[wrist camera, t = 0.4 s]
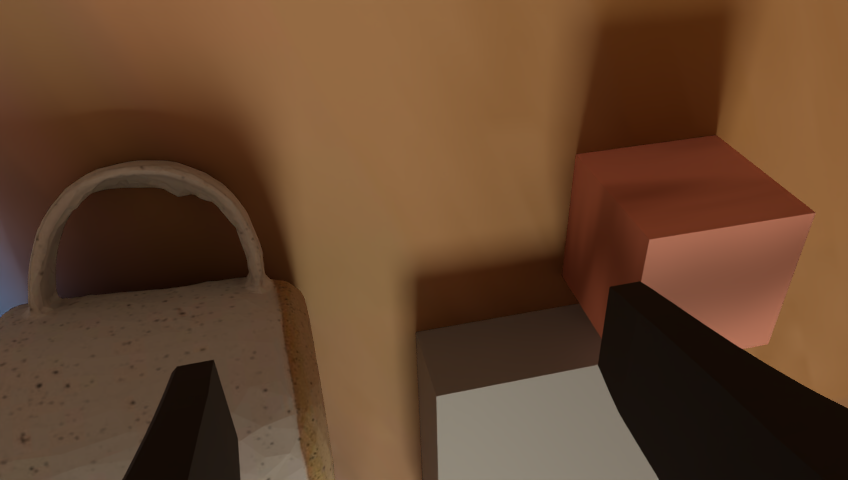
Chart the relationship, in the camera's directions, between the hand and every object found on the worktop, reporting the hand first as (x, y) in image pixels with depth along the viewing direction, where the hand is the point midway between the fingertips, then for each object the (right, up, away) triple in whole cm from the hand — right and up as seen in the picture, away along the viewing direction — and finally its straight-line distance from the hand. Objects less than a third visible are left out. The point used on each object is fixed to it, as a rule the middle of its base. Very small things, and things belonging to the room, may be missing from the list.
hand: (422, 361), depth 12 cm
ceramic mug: (-8, 0, +10) cm, 13 cm away
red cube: (+7, +3, +12) cm, 14 cm away
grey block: (+5, -4, +17) cm, 18 cm away
